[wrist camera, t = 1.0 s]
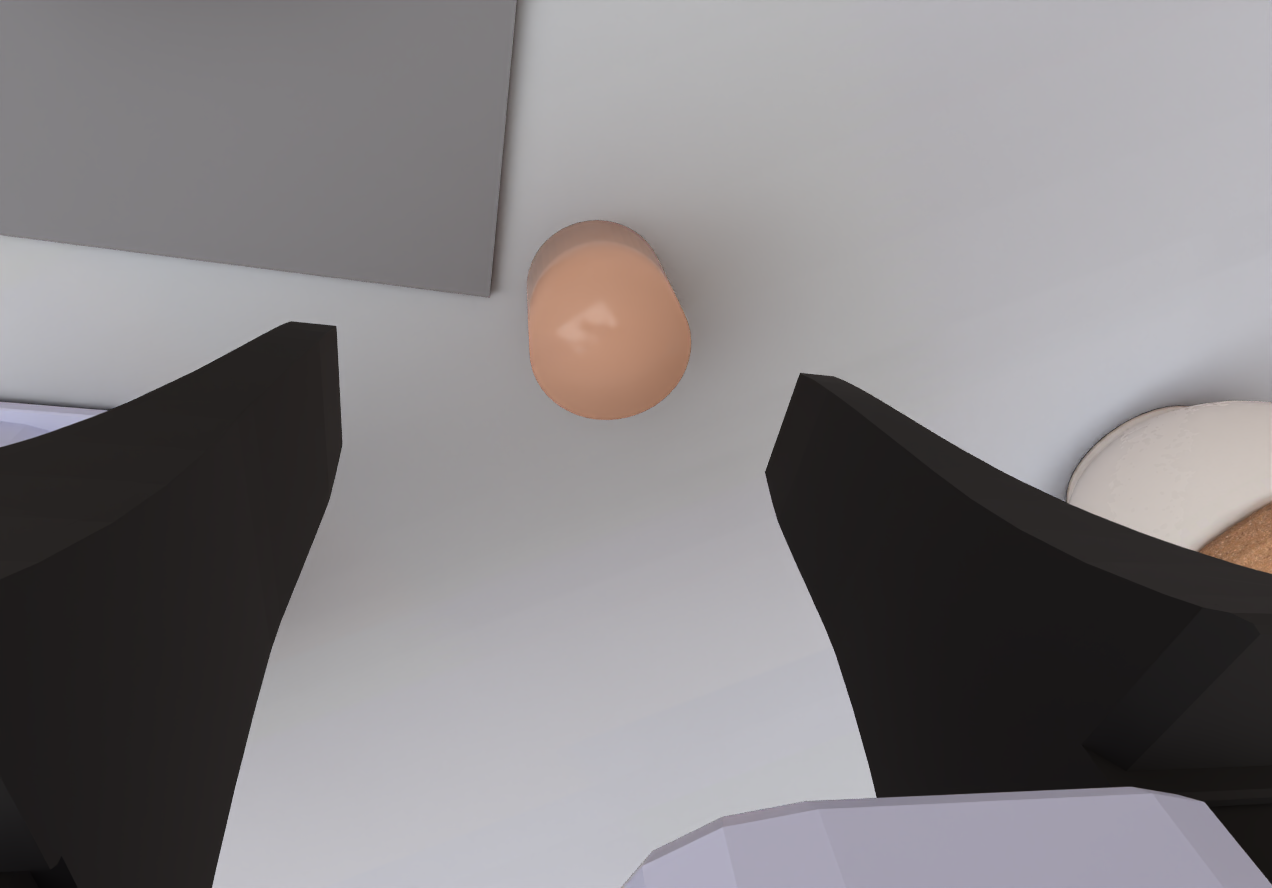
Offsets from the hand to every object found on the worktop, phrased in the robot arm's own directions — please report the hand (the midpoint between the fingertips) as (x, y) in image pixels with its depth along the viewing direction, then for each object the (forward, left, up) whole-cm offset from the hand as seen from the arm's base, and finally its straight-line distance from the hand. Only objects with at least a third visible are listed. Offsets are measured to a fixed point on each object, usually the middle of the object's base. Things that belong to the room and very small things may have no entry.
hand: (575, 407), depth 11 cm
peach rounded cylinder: (-2, -2, -10) cm, 10 cm away
